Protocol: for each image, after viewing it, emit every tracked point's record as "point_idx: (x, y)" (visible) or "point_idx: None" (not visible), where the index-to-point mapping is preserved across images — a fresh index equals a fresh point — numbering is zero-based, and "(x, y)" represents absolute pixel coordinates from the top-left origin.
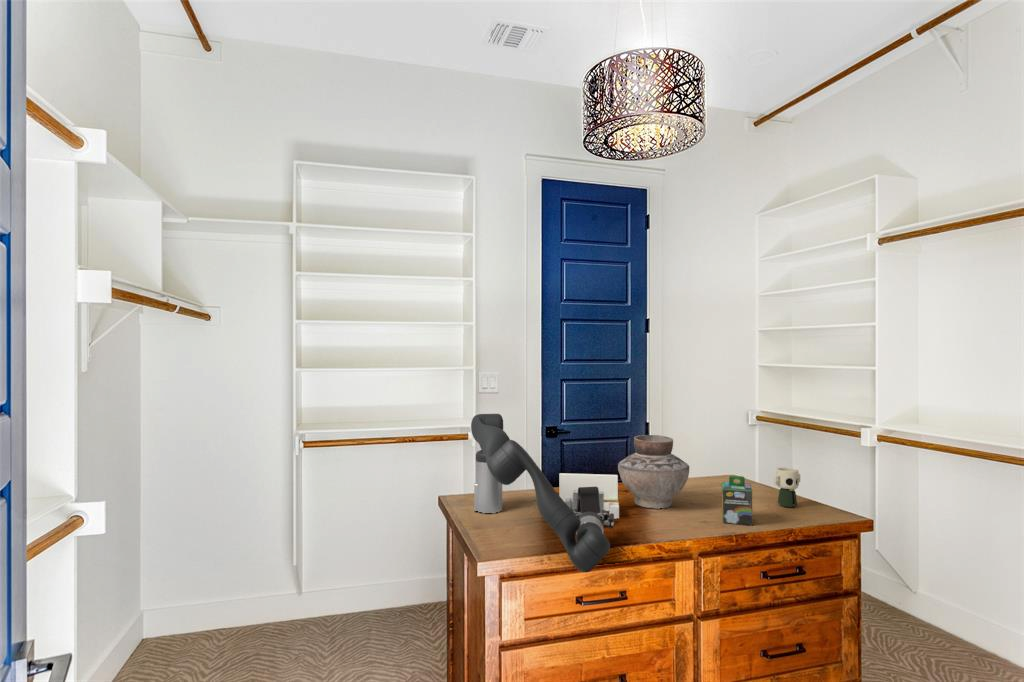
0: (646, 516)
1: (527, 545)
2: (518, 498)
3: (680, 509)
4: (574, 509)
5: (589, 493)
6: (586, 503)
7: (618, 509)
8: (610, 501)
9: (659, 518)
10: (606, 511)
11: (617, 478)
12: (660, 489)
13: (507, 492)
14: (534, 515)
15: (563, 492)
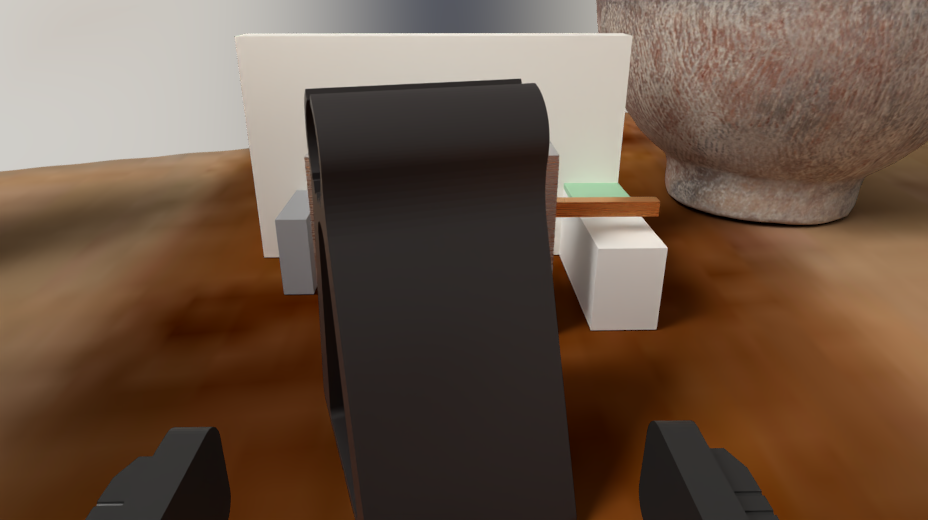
0: (811, 290)
1: None
2: (94, 196)
3: (919, 222)
4: (150, 469)
5: (437, 158)
6: (402, 280)
7: (660, 268)
8: (599, 211)
9: (911, 305)
10: (727, 454)
11: (629, 52)
12: (896, 115)
13: (80, 167)
14: (35, 335)
15: (277, 158)
